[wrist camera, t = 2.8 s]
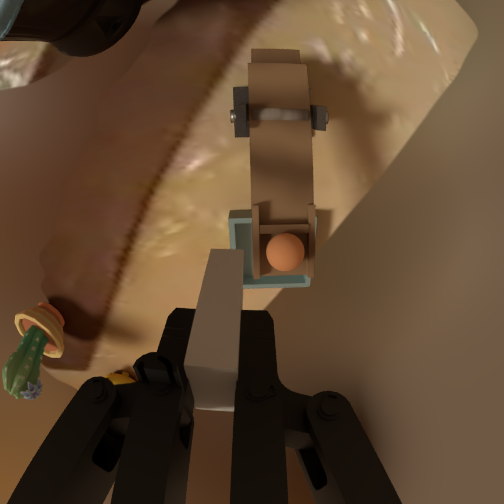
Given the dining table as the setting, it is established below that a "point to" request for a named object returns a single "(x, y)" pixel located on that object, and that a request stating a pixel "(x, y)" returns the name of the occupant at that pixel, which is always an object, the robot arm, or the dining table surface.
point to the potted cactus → (33, 349)
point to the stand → (242, 113)
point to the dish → (243, 240)
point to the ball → (285, 252)
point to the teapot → (120, 378)
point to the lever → (280, 156)
